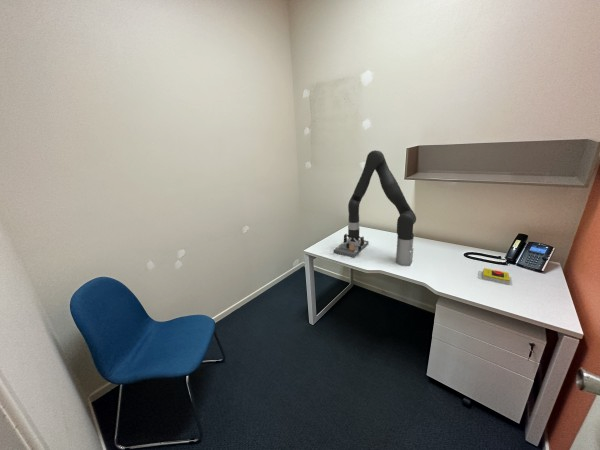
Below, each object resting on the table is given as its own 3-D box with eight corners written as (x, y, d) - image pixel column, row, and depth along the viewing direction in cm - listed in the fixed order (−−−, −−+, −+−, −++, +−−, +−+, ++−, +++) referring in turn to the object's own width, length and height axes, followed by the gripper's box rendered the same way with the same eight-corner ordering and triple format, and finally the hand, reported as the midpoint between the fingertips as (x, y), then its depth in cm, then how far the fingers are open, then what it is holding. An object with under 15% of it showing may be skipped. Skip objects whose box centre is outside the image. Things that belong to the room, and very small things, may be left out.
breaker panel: (368, 244, 191) (368, 235, 188) (354, 257, 171) (354, 248, 169) (349, 240, 200) (349, 231, 198) (333, 253, 180) (333, 243, 178)
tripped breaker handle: (353, 249, 176) (353, 244, 175) (352, 250, 175) (352, 245, 174) (351, 249, 177) (351, 243, 176) (350, 250, 176) (350, 244, 175)
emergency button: (514, 279, 129) (478, 272, 137) (512, 286, 130) (477, 279, 138) (512, 271, 136) (479, 265, 144) (511, 278, 137) (477, 271, 145)
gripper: (365, 227, 169) (365, 249, 174) (346, 224, 177) (346, 245, 182) (361, 231, 163) (361, 253, 168) (341, 227, 171) (342, 249, 176)
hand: (353, 249), depth 175 cm, fingers open, 8 cm apart
